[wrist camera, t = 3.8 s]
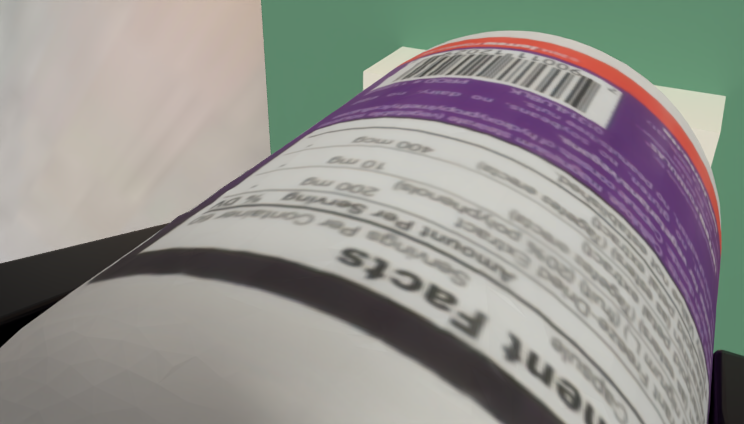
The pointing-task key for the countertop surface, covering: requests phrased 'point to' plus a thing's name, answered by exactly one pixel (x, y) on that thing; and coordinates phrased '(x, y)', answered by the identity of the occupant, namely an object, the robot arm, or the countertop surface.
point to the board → (545, 15)
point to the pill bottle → (417, 265)
